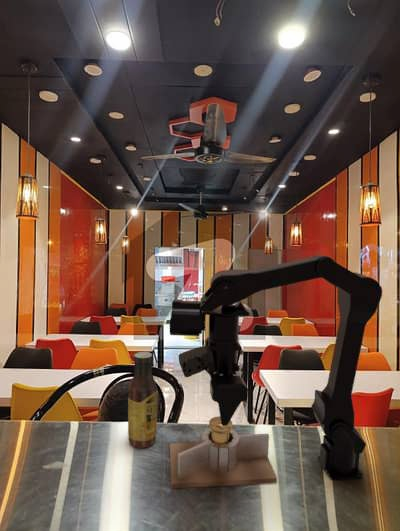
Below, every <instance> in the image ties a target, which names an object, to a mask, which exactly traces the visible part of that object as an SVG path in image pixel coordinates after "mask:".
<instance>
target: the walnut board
mask: <svg viewBox="0 0 400 531" xmlns="http://www.w3.org/2000/svg"><path fill="white" fill-rule="evenodd" d="M199 444H202V441H195V442H194V441H193V442H170V443H169V458H170V460H169V461H170V462H169V464H170V465H169V466H170V488H171V490H173V489H191V488H205V487H206V488H207V487H223V486H224V487H225V486H226V487H227V486H243V485H258V484H259V485H262V484H277V483H278V477H277V475H276V472H275V470H274V467H273V466H272V463H271V461H270V459H269V457H268V458H264V459H244V460H239V463H238V465H237V466H236V467H235V469H233V470H231V471H229V472H228V471H227V472H215V471H212V470H209V469H207V468H204V469H202V470H200V471H198V472H196V473H194V474H192V475H190V476H188V477H186V478H184V479H182V480H179V479H178V453H181V452H183V451H185V450H188V449H190V448H192V447H195V446H197V445H199Z"/></svg>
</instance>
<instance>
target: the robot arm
mask: <svg viewBox="0 0 400 531" xmlns="http://www.w3.org/2000/svg"><path fill="white" fill-rule="evenodd" d="M320 278H321V279H323V280H324V281H326V282H328V283H330V284H331V285H332V286H334V287H335V288H337V306H338V310H339V311H338V312H339V321H338V322H339V323H338V327H337V332H336V339H335V341H334V342H335V343H334V348H333V353H332V358H331V364H330V369H329V374H328V379H327V382H326V383H327V384H326V386H325V387H324V389H323V390H318V389H315V390H314V400H313V403H312V404H311V409H312V410H313V413H314V417H315V418H316V420H317V423H318V424H319V426H320V427H321V430H322V431H323V433H324V435H323V439H322V440H323V441H322V443H320V448H319V450H320V451H319V455H318V456H317V459H318V461H319V463H320V464H321V466H322V467H323V469H324V470H325V472H326V473H327V474H328V476H329V478H330V479H331V480H349V479H362V478H363V477H364V476H363V473H362V471H361V470H360V469H359V466H360V465H359V464H360V455H361V454H363V452H364V450H365V448H366V446H367V443H366V441H365V440H364V439H363V437H362V436H361V435H360V433H359V431H358V430H357V429H356V427H355V408H354V404H353V398H352V396H353V395H352V393H353V390H354V383H355V379H356V374H357V370H358V364H359V360H360V354H361V350H362V345H363V340H364V334H365V330H366V326H367V324H368V322H369V321H371V319H372V318H373V316H374V315H375V314H376V312H377V310H378V307H379V305H380V302H381V299H382V297H383V287H382V286H381V285H380V283H379V281H377V280H376V279H374V278H372V277H369V276H367V275H364V274H361V273H359V272H353V271H351V270H349V269H348V268H346V267H344V266H343V265H341V264H339V263H337V262H336V261H334V259H333V258H332V257H329V256H326V255H324V254H321V253H320V254H314V255H313V256H310V257H306V258H301V259H297V260H293V261H292V260H291V261H287V262H283V263H278V264H275V265H270V266H265V267H260V268H257V269H223V270H219V271H217V272H215V273H214V274H213V276H212V277H211V279H210V282H209V288H208V289H207V290H206V291H205V293H204V294H203V295H202V296H201V297H200V300H182V299H173V300H172V302H171V313H170V319H169V335H170V336H182V337H183V336H187V337H200V335H201V334H202V333H203V332H206V316H208V317H209V318H208V336H207V337H206V338H205V342H204V343H205V344H204V345H202V346H197V347H194V348H191V349H188V350H186V351H183V352H181V353H179V354H178V362H179V365H180V369H181V372H182V374H183V376H184V377H185V378H190V377H193V376H194V375H196V374H199V373H202V372H203V371H205V372H206V373H207V374H208V375H209V377H210V381H209V390H210V391H209V394H210V397H211V400H212V401H213V402H215V403H217V404H218V411H219V412H218V413H219V416H220V419H221V424H222V425H223V426H224V425H228V423H229V421H230V420H231V421H232V418H233V416H234V414H235V413H236V412H237V409H238V408H239V406H240V405H241V403H242V402H245V401H246V400H247V399H248V397H249V396H248V395H249V394H248V393H249V392H248V391H249V388H248V387H247V384H246V382H245V380H244V379H243V377H241V376H240V375H234V373H233V372H240V365H239V363H238V352H239V351H240V350H241V345H240V343H239V320H240V317H249V316H250V312H249V309H248V308H247V307H246V306H245V305H244V304H243V302H242V301H243V300H245V299H248V298H250V297H251V296H253V295H255V294H257V293H259V292H261V291H265V290H270V289H275V288H279V287H283V286H289V285H293V284H297V283H302V282H306V281H307V282H308V281H311V280H316V279H320Z"/></svg>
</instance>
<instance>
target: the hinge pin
mask: <svg viewBox="0 0 400 531" xmlns="http://www.w3.org/2000/svg"><path fill="white" fill-rule="evenodd" d="M208 428H210V429H211V430H212V440H211V442H213V443H216V444H219V445H220V444H228V443H229V431H230V430H231V429H233V421H232V419H231V420H230V421H229V423H228V425H224V426H223V425H222V424H221V419H220V415H219V416H214V417H212V418H210V419H209V420H208Z"/></svg>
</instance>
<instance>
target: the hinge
mask: <svg viewBox="0 0 400 531" xmlns="http://www.w3.org/2000/svg"><path fill="white" fill-rule="evenodd" d="M211 440H212V430H211V429H210V428H209V427H208V428H206V429H204V431H203V432H202V434H201V442H202V444H199V445H197V446H195V447H192V448H190V449H188V450H185V451H183V452H181V453H178V479H179V480H182V479H184V478H186V477H188V476H190V475H192V474H194V473H196V472H198V471H200V470H202V469H204V468H207V469H209V470H212V471H215V472H227V471H228V472H229V471H231V470H233V469H235V467H236V466H237V465H238V463H239V460H244V459H264V458H269V446H270V445H269V444H270V443H269V442H270V435H269V433H252V434H249V433H247V434H239V433H238V432H237V431H236V430H234V428H232V429H231V430H230V431H229V443H228V444H220V445H219V444H216V443H213V442H211Z"/></svg>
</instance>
